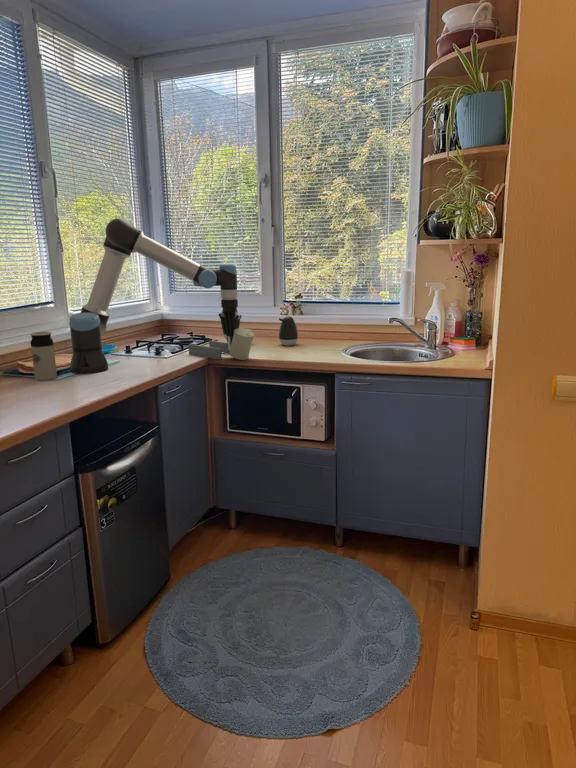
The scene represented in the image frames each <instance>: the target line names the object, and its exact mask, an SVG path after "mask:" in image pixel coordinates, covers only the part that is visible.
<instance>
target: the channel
mask: <svg viewBox="0 0 576 768" xmlns="http://www.w3.org/2000/svg"><path fill="white" fill-rule="evenodd" d="M208 344H209V345H208V346H207V345H206V346H205V345H199V344H192V343H188V355H191V356H194V357H195V356H196V357H201V358H206V359H214V360H219V361H221V360H222V354H226V353H228V354H227V355H229V352H230V350H228V342H223V341H216V340H209V341H208ZM221 352H223V353H221Z"/></svg>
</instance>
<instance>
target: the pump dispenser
mask: <svg viewBox="0 0 576 768" xmlns="http://www.w3.org/2000/svg"><path fill="white" fill-rule="evenodd" d="M278 320H279V321H280V322H281V324H280V326H279V330H278V340H279V342H280V344H281V345H282V346H284V345H286V347H287V346H288V347H291V346H290V345H292V346H295V345H296V344H297V342H298V339H299V331H298V327H297V325H296V321H295V320H294V318H293V317H292V316H289V315H288V316H287V315H286V316H285V317H284V318H280V317H279V318H278Z"/></svg>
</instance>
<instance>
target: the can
mask: <svg viewBox="0 0 576 768" xmlns="http://www.w3.org/2000/svg"><path fill="white" fill-rule="evenodd" d="M242 328H243V327H242ZM242 328H241V327H239V328H237V329H235V330H234V335H233V340H232V344H231V348H230V352H229V354H228V355H229V356H230V357H232V358H233V359H236V360H239V361H245V360H248V359H249V357H250V356H249V355H250V351H251V348H252V343H253V339H254V336H255V333H254V332H253V331H252V330H251V331H249V330H247V329H248V328H246V329H242Z"/></svg>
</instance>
